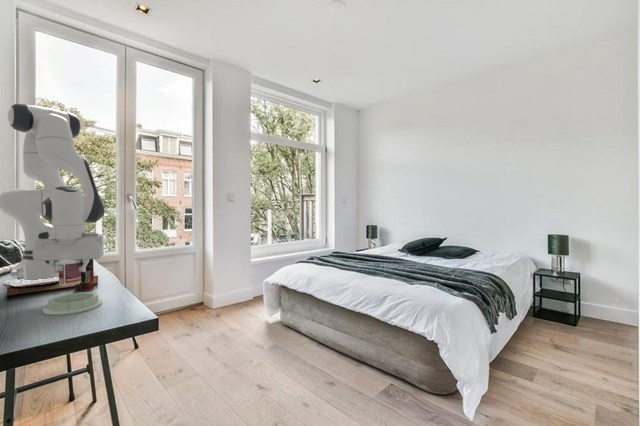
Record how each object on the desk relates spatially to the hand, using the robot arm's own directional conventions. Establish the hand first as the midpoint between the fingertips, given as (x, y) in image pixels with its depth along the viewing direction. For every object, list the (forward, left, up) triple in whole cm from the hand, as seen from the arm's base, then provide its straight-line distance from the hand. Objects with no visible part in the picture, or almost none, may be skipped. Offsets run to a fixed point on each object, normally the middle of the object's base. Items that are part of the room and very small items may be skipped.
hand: (69, 272), depth 111 cm
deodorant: (-6, +9, -9) cm, 14 cm away
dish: (+12, -7, -9) cm, 17 cm away
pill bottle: (0, 0, -4) cm, 4 cm away
